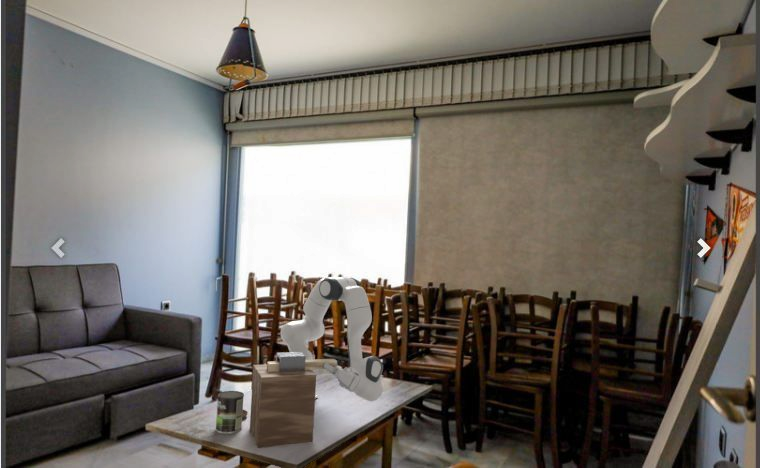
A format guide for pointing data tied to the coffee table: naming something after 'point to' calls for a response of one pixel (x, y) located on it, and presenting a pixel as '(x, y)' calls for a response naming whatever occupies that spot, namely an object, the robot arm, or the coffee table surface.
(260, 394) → the brown tall wooden box
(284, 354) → the metal tunnel
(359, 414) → the coffee table surface
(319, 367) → the beech bar
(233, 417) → the coffee can
